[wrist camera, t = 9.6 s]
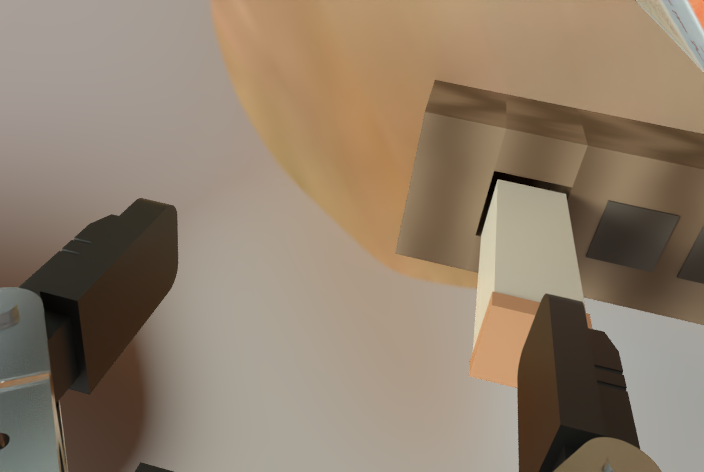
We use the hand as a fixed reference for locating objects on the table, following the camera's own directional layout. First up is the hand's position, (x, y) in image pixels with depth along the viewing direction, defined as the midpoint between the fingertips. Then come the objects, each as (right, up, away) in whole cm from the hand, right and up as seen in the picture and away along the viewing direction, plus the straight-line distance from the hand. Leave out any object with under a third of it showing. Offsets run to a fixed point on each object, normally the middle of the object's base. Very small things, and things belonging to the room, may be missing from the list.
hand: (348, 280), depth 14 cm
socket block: (+16, +5, +29) cm, 34 cm away
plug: (+10, +2, +25) cm, 27 cm away
